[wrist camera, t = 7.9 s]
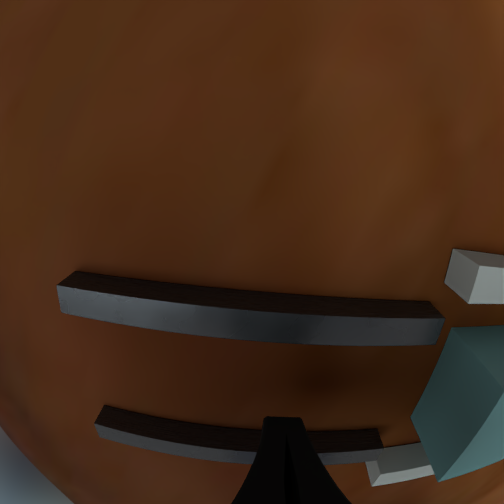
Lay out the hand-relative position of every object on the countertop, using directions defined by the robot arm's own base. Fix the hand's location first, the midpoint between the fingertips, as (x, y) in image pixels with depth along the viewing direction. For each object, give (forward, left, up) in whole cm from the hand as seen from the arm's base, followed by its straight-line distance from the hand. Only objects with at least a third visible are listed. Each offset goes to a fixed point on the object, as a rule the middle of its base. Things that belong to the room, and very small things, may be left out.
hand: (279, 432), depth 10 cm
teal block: (0, -12, -3) cm, 13 cm away
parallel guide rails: (0, +2, -3) cm, 3 cm away
